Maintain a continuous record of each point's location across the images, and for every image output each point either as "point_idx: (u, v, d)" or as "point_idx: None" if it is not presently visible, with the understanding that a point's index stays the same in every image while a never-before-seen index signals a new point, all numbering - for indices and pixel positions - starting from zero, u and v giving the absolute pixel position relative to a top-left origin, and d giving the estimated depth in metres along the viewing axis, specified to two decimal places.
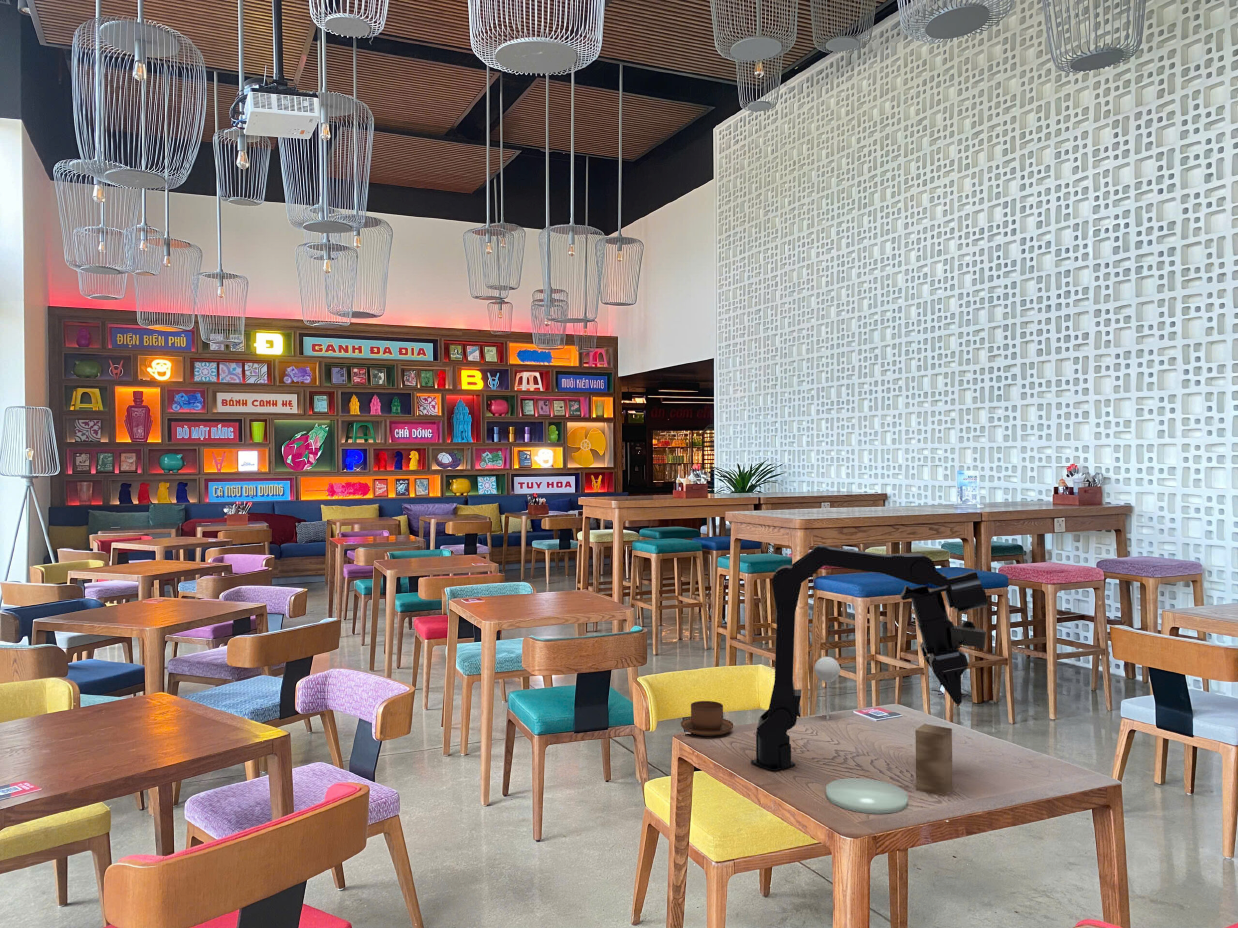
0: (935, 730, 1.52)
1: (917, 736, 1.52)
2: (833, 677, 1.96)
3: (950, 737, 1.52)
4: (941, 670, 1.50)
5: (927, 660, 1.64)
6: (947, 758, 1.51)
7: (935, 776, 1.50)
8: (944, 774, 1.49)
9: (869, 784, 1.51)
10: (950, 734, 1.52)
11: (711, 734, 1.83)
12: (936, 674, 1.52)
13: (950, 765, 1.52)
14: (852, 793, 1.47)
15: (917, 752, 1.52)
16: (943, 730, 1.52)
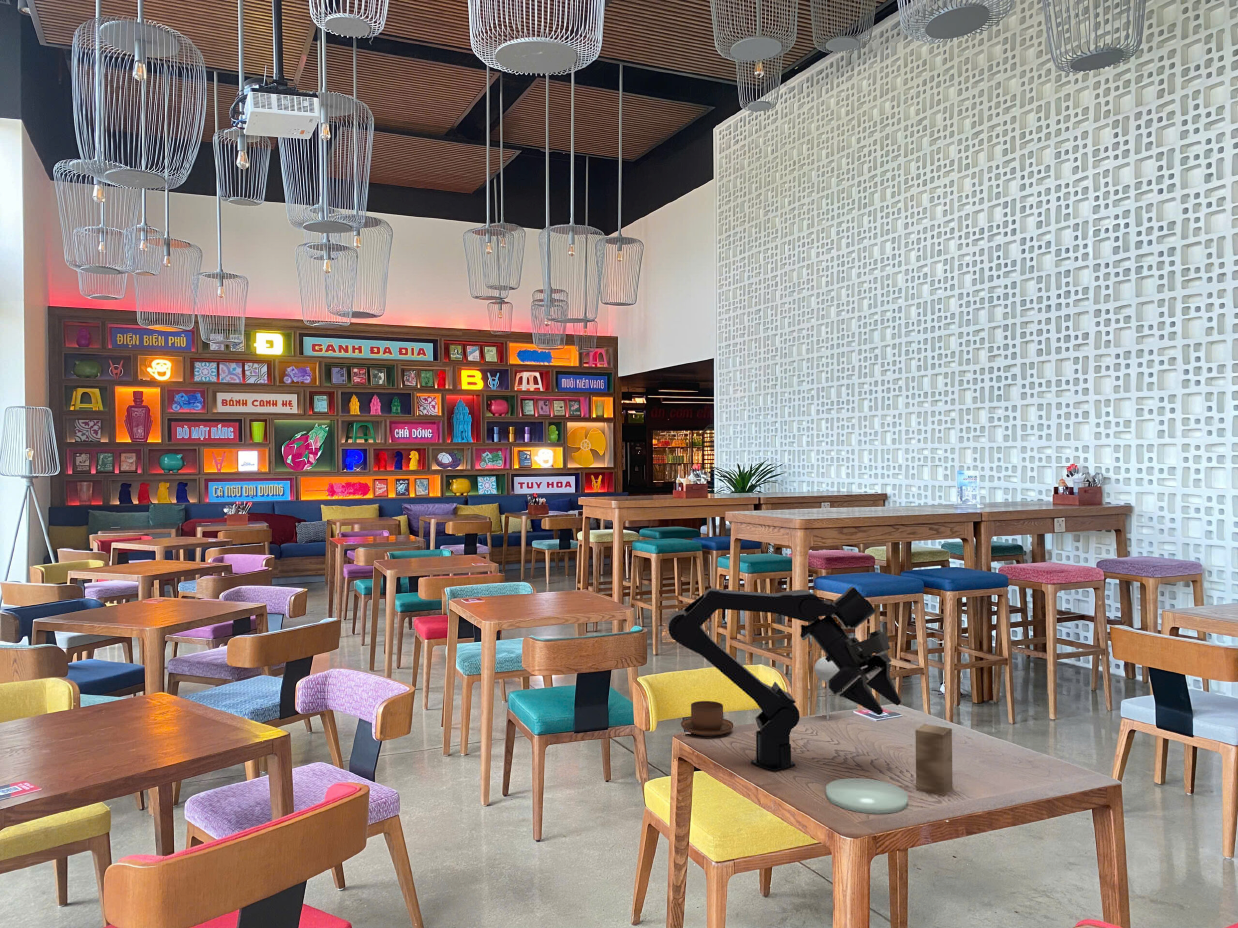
0: (935, 730, 1.52)
1: (917, 736, 1.52)
2: None
3: (950, 737, 1.52)
4: (837, 690, 1.55)
5: (867, 683, 1.66)
6: (947, 758, 1.51)
7: (935, 776, 1.50)
8: (944, 774, 1.49)
9: (869, 784, 1.51)
10: (950, 734, 1.52)
11: (711, 734, 1.83)
12: (840, 695, 1.56)
13: (950, 765, 1.52)
14: (852, 793, 1.47)
15: (917, 752, 1.52)
16: (943, 730, 1.52)
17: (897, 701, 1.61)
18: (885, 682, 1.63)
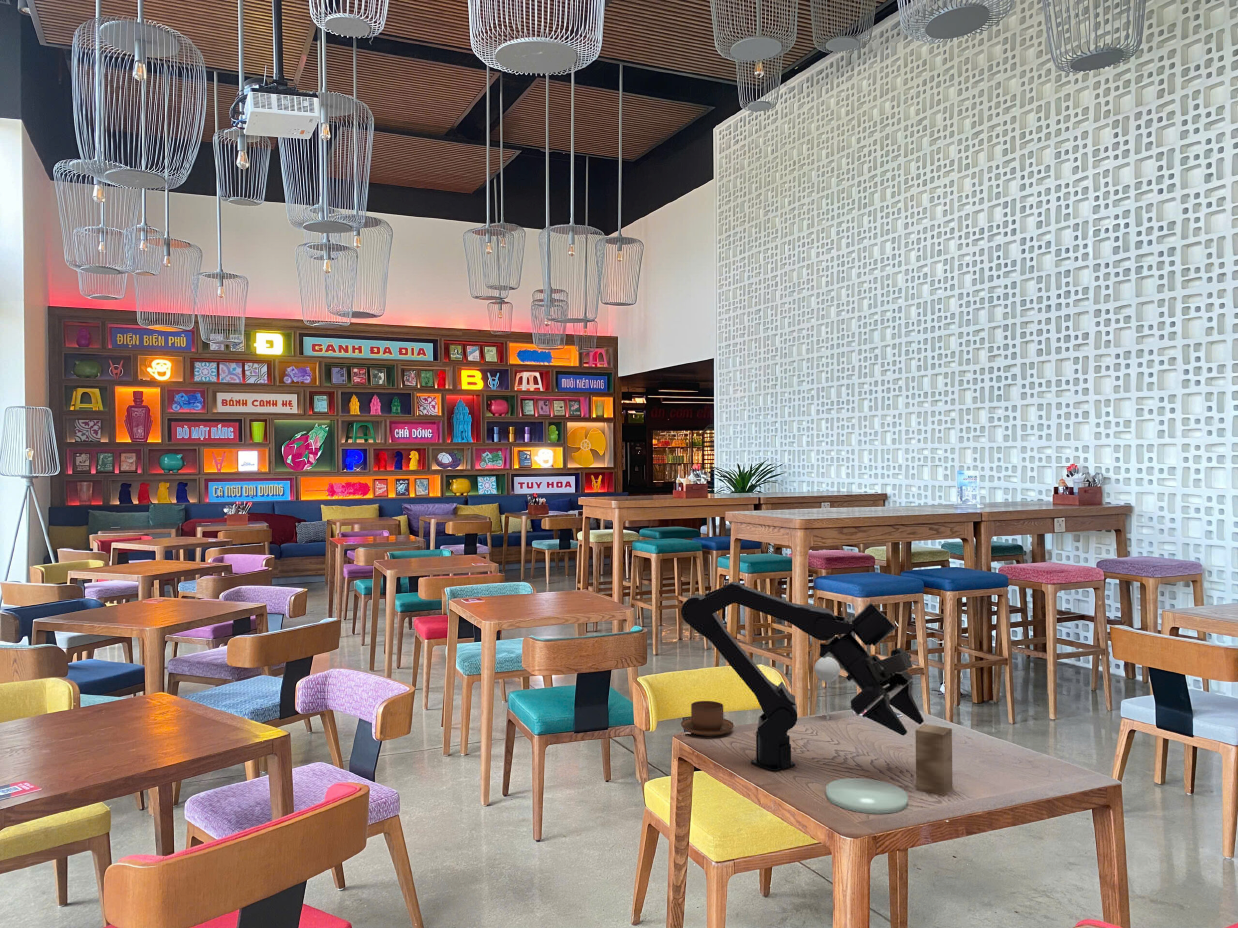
0: (935, 730, 1.52)
1: (917, 736, 1.52)
2: (833, 677, 1.96)
3: (950, 737, 1.52)
4: (860, 711, 1.52)
5: None
6: (947, 758, 1.51)
7: (935, 776, 1.50)
8: (944, 774, 1.49)
9: (869, 784, 1.51)
10: (950, 734, 1.52)
11: (711, 734, 1.83)
12: (863, 716, 1.53)
13: (950, 765, 1.52)
14: (852, 793, 1.47)
15: (917, 752, 1.52)
16: (943, 730, 1.52)
17: (920, 720, 1.59)
18: (907, 700, 1.61)
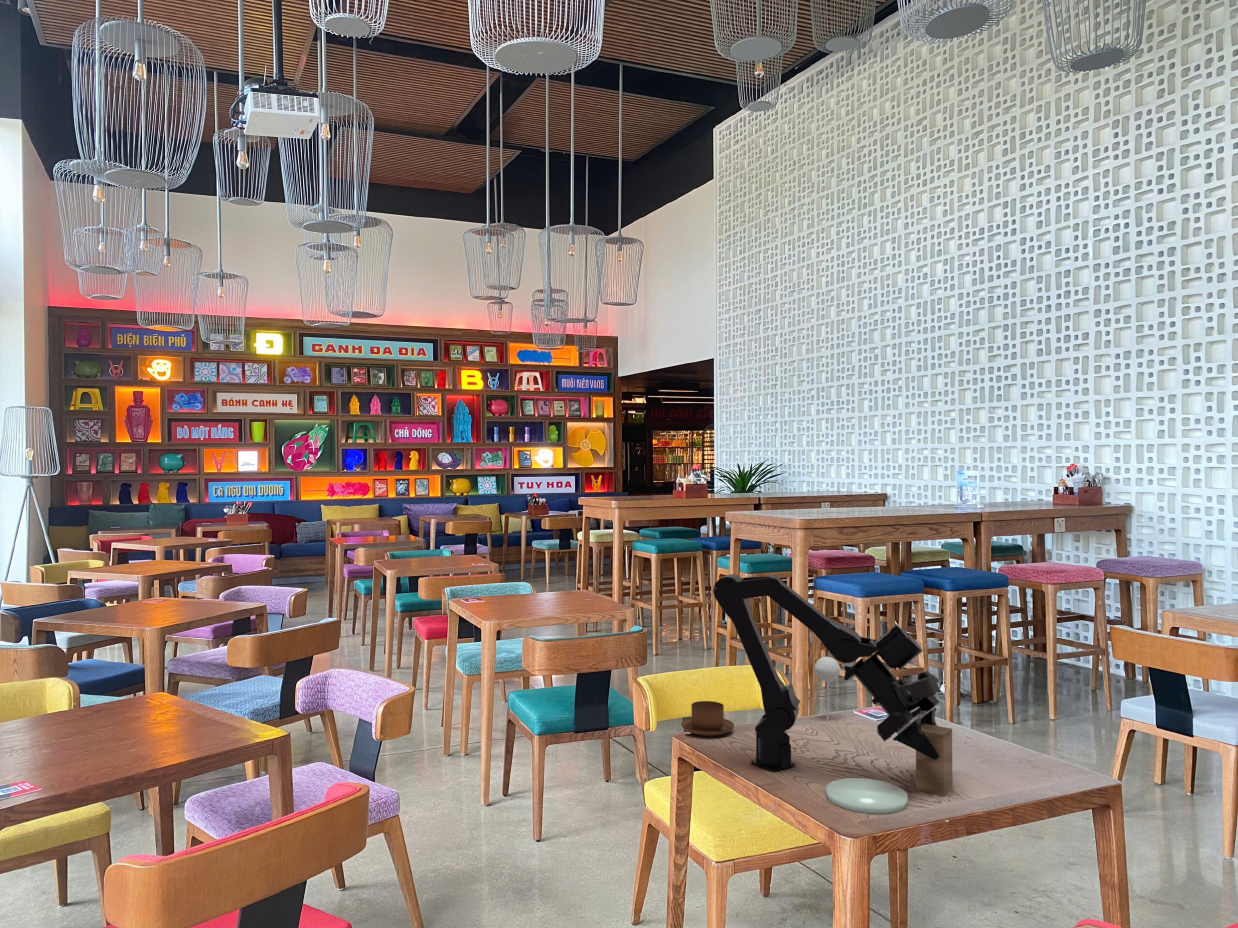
0: (935, 730, 1.52)
1: None
2: (833, 677, 1.96)
3: (950, 737, 1.52)
4: (887, 736, 1.49)
5: None
6: (947, 758, 1.51)
7: (935, 775, 1.50)
8: (944, 774, 1.49)
9: (869, 784, 1.51)
10: (950, 734, 1.52)
11: (712, 734, 1.83)
12: (894, 739, 1.51)
13: (950, 765, 1.52)
14: (852, 793, 1.47)
15: (917, 752, 1.52)
16: (943, 730, 1.52)
17: None
18: None
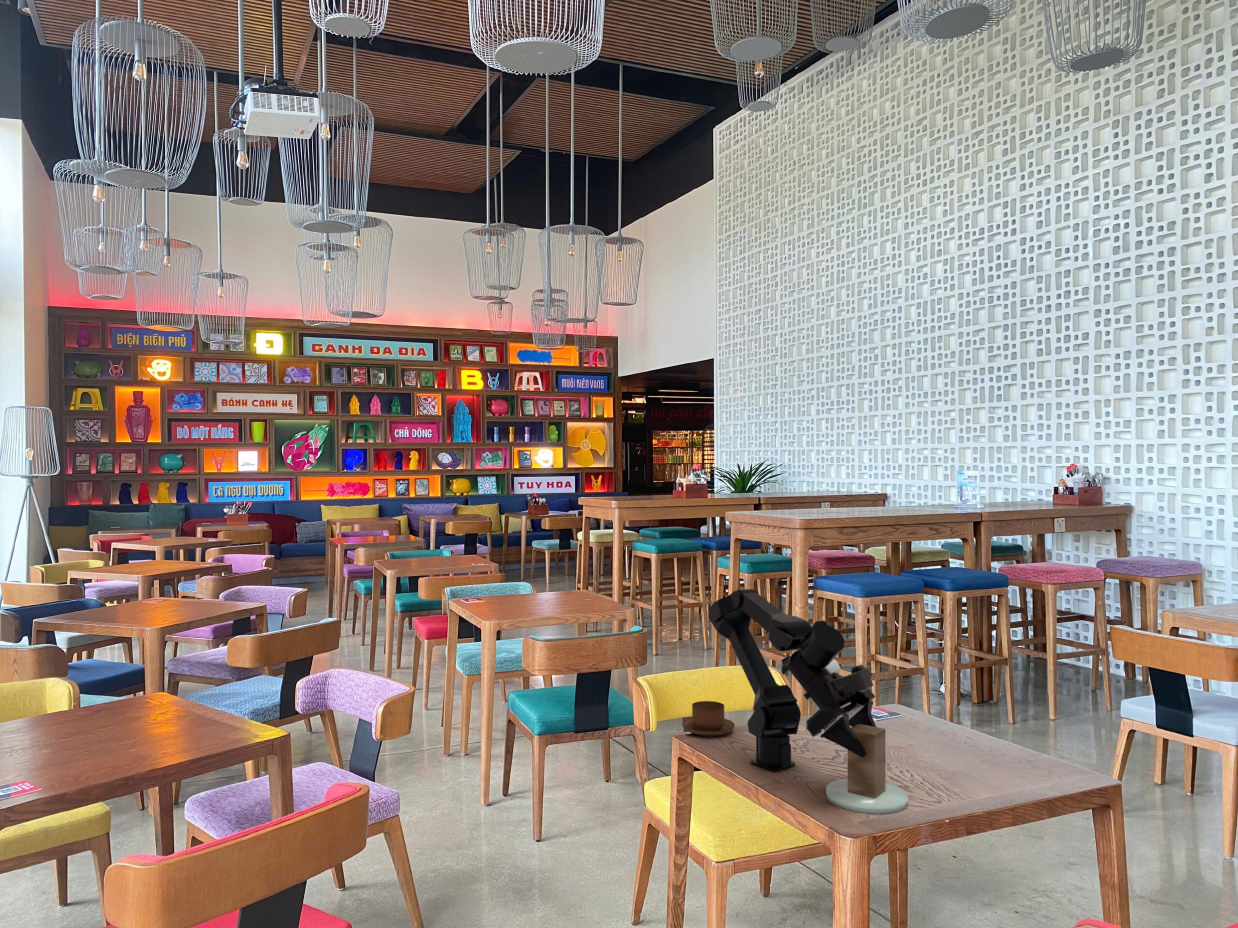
0: (868, 730, 1.47)
1: None
2: None
3: (883, 737, 1.48)
4: (816, 732, 1.44)
5: None
6: (879, 759, 1.46)
7: (866, 777, 1.45)
8: (876, 775, 1.45)
9: None
10: (883, 734, 1.48)
11: (712, 734, 1.83)
12: (821, 736, 1.46)
13: (883, 766, 1.47)
14: (852, 793, 1.47)
15: (849, 753, 1.47)
16: (876, 730, 1.47)
17: None
18: (866, 721, 1.52)
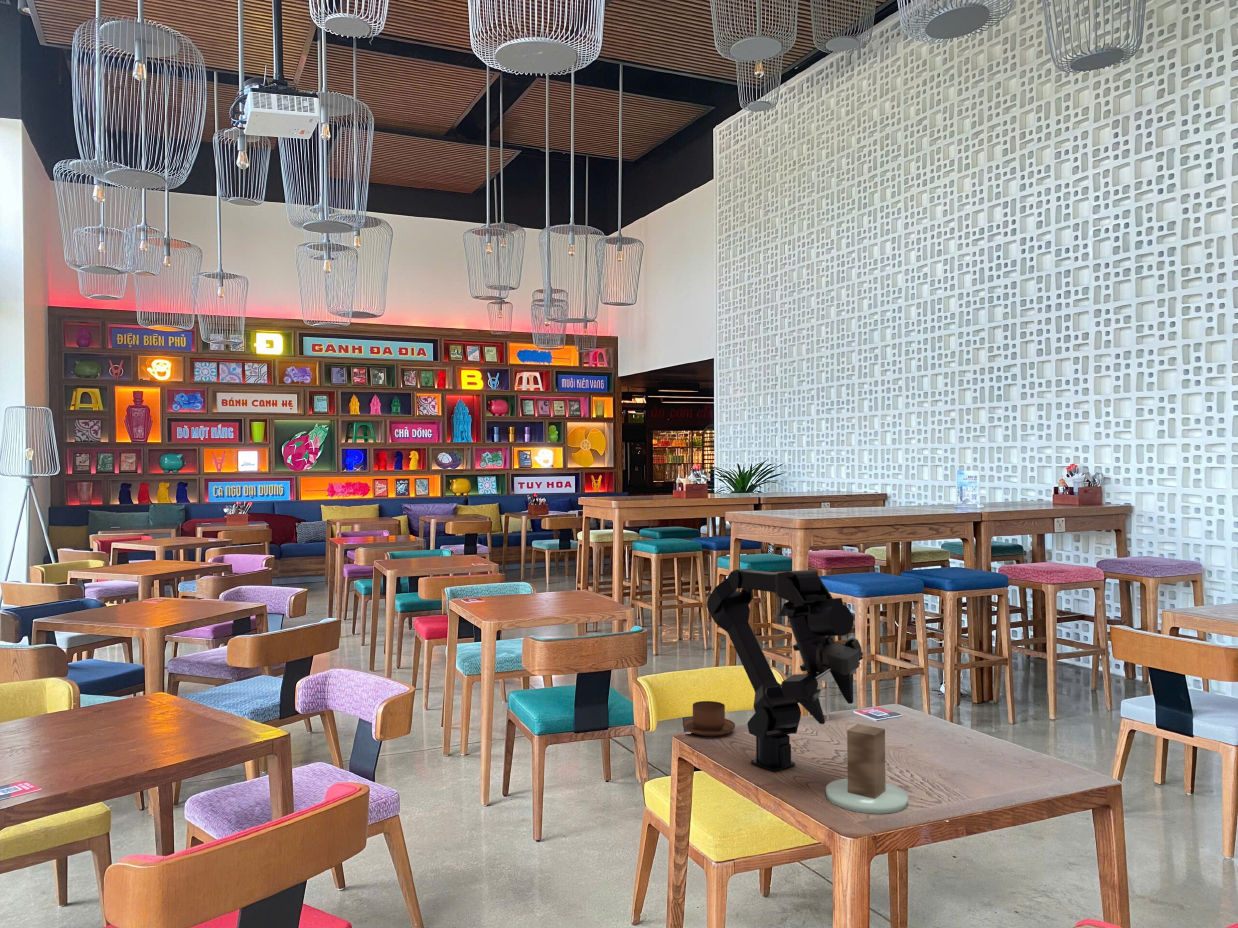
0: (867, 730, 1.47)
1: (849, 737, 1.47)
2: None
3: (883, 738, 1.48)
4: (786, 695, 1.53)
5: (830, 669, 1.63)
6: (879, 759, 1.46)
7: (866, 777, 1.45)
8: (876, 776, 1.45)
9: None
10: (882, 735, 1.48)
11: (713, 734, 1.83)
12: (789, 696, 1.55)
13: (883, 766, 1.47)
14: None
15: (849, 753, 1.47)
16: (876, 730, 1.47)
17: (849, 701, 1.60)
18: (845, 679, 1.60)
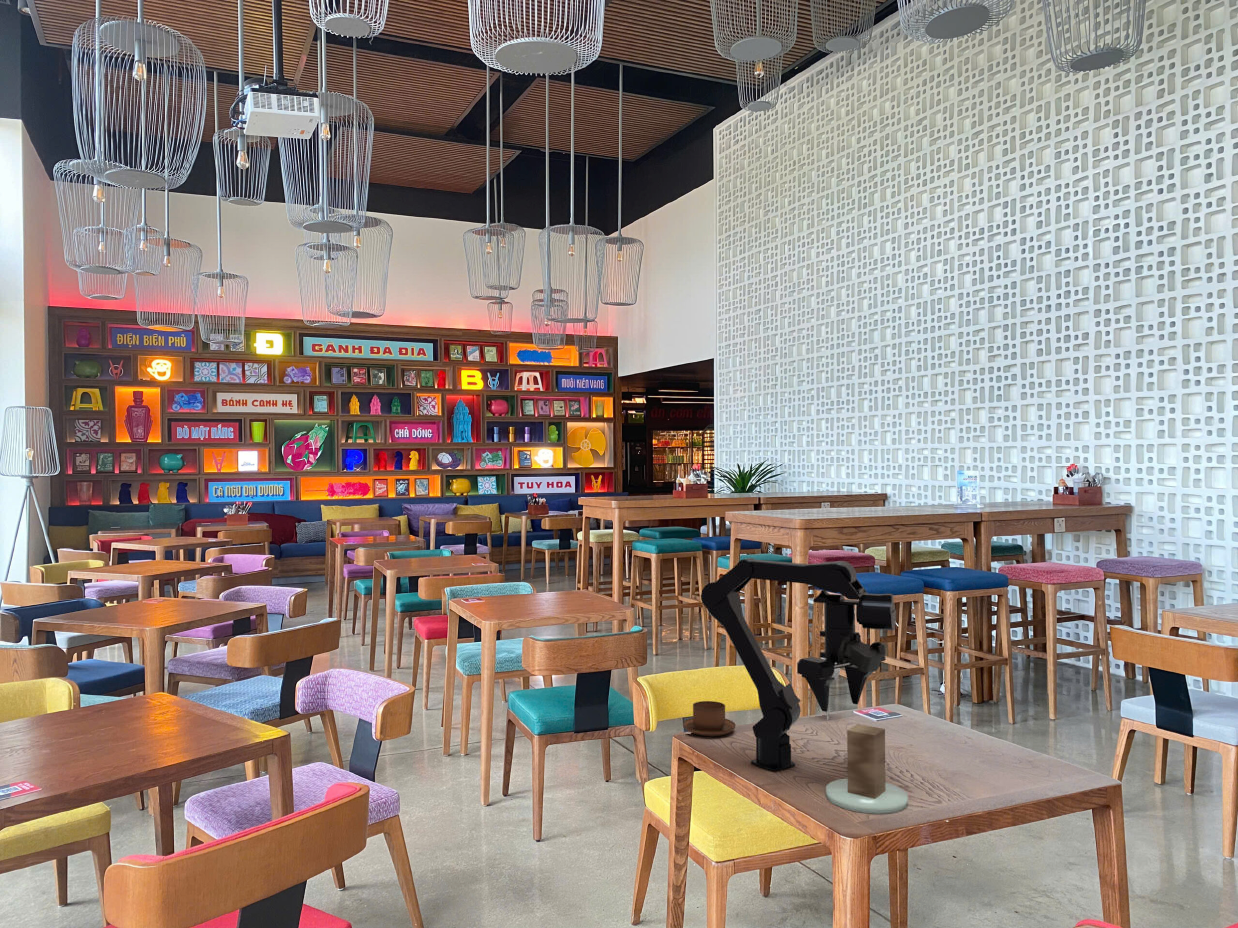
0: (867, 730, 1.47)
1: (849, 737, 1.47)
2: (833, 677, 1.96)
3: (883, 738, 1.48)
4: (800, 673, 1.56)
5: (845, 666, 1.65)
6: (879, 759, 1.46)
7: (866, 777, 1.45)
8: (876, 776, 1.45)
9: None
10: (882, 735, 1.48)
11: (713, 734, 1.83)
12: None
13: (883, 766, 1.47)
14: None
15: (849, 753, 1.47)
16: (876, 730, 1.47)
17: (855, 701, 1.63)
18: (858, 680, 1.63)
